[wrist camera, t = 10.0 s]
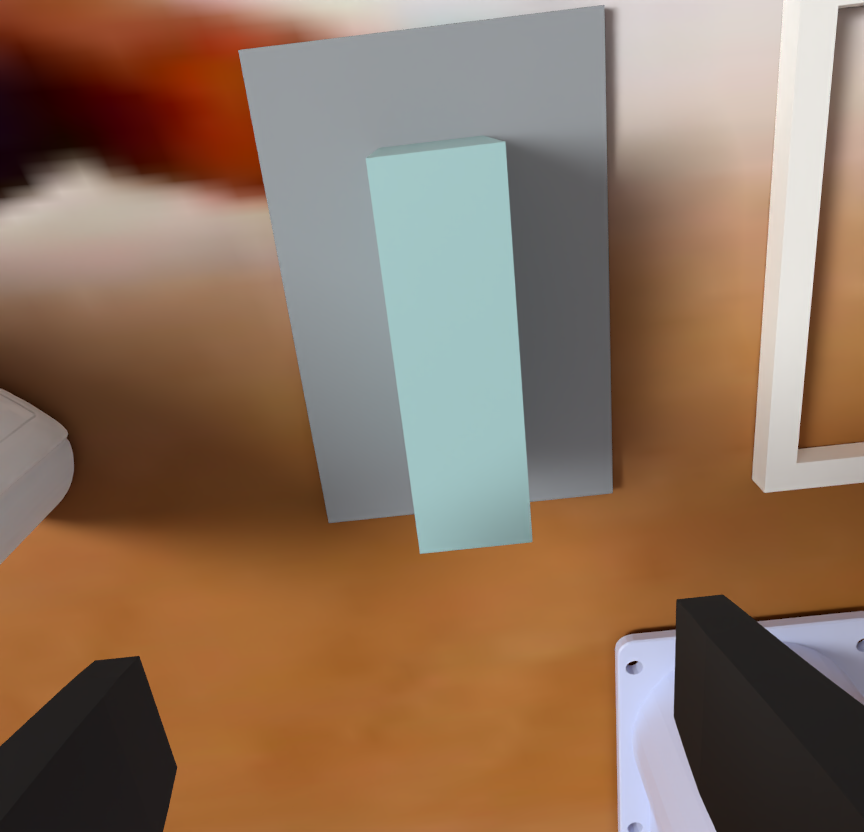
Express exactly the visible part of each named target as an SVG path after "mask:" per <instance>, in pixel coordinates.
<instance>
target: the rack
mask: <svg viewBox="0 0 864 832" xmlns="http://www.w3.org/2000/svg"><path fill="white" fill-rule="evenodd" d="M863 5H864V0H783V16H782V31H781V46H780V61H779V76H778V91H777V107H776V122H775V137H774V152H773V167H772V182H771V198H770V213H769V228H768V243H767V258H766V274H765V289H764V304H763V319H762V334H761V349H760V365H759V380H758V395H757V410H756V425H755V441H754V456H753V471H752V480H753V481H754V482H755V483H756V484H757V485H758V486H759V487H760V489H761V490H762V491H763V492H764V493H768V492H777V491H787V490H796V489H806V488H815V487H825V486H834V485H844V484H853V483H863V482H864V442H860V443H850V444H841V445H832V446H822V447H813V448H803V449H798V441H799V431H800V420H801V409H802V398H803V387H804V376H805V365H806V354H807V343H808V332H809V321H810V310H811V299H812V289H813V278H814V267H815V256H816V245H817V234H818V223H819V212H820V201H821V190H822V179H823V168H824V157H825V147H826V136H827V125H828V114H829V103H830V92H831V81H832V70H833V59H834V48H835V37H836V26H837V16H838V8H847V7H855V6H863Z"/></svg>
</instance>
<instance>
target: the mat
mask: <svg viewBox="0 0 864 832" xmlns="http://www.w3.org/2000/svg"><path fill="white" fill-rule="evenodd" d="M238 51H239V56H240V61H241V67H242V72H243V77H244V82H245V88H246V93H247V98H248V103H249V109H250V114H251V119H252V124H253V129H254V135H255V140H256V145H257V150H258V156H259V161H260V166H261V171H262V176H263V182H264V187H265V192H266V197H267V203H268V208H269V213H270V218H271V224H272V229H273V234H274V239H275V244H276V250H277V255H278V260H279V265H280V271H281V276H282V281H283V286H284V291H285V297H286V302H287V307H288V312H289V318H290V323H291V328H292V333H293V339H294V344H295V349H296V354H297V359H298V365H299V370H300V375H301V380H302V386H303V391H304V396H305V401H306V406H307V412H308V417H309V422H310V427H311V433H312V438H313V443H314V448H315V454H316V459H317V464H318V469H319V474H320V480H321V485H322V490H323V495H324V501H325V506H326V511H327V516H328V521H329V523H335V522H344V521H353V520H363V519H372V518H382V517H391V516H401V515H410V514H415V513H414V506H413V498H412V491H411V484H410V477H409V469H408V462H407V455H406V448H405V440H404V433H403V426H402V419H401V411H400V404H399V397H398V390H397V382H396V375H395V368H394V361H393V353H392V346H391V339H390V332H389V324H388V317H387V310H386V303H385V295H384V288H383V281H382V274H381V266H380V259H379V252H378V245H377V237H376V230H375V223H374V216H373V208H372V201H371V194H370V187H369V179H368V172H367V165H366V158H367V157H368V156H369V155H371V154H372V153H373V152H374V151H376V150H377V149H378V148H382V147H391V146H399V145H408V144H416V143H424V142H433V141H441V140H450V139H458V138H466V137H475V136H487V137H490V138H494V139H497V140H501V141H505V143H506V158H507V173H508V188H509V202H510V217H511V232H512V247H513V262H514V277H515V291H516V306H517V321H518V336H519V351H520V365H521V380H522V395H523V410H524V425H525V440H526V454H527V469H528V484H529V499H530V502H533V501H543V500H552V499H562V498H571V497H581V496H590V495H600V494H609V493H613V479H612V420H611V362H610V304H609V246H608V188H607V130H606V72H605V14H604V5H600V6H592V7H584V8H576V9H568V10H560V11H551V12H543V13H535V14H527V15H519V16H511V17H503V18H495V19H487V20H479V21H471V22H462V23H454V24H446V25H438V26H430V27H422V28H414V29H406V30H398V31H390V32H382V33H373V34H365V35H357V36H349V37H341V38H333V39H325V40H317V41H309V42H301V43H292V44H284V45H276V46H268V47H260V48H252V49H244V50H238Z"/></svg>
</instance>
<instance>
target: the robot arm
mask: <svg viewBox="0 0 864 832" xmlns="http://www.w3.org/2000/svg"><path fill="white" fill-rule="evenodd" d="M861 639H864V611H856V612H846V613H836V614H826V615H816V616H806V617H796V618H786V619H776V620H766V621H755V620H754V619H753V618H752V617H751V616H749V615H748V614H747V613H746V612H744V611H743V610H742V609H741V608H739V607H738V606H737V605H736V604H734V603H733V602H732V601H731V600H729V599H728V598H727V597H725V596H724V595H715V596H705V597H696V598H686V599H677V603H676V630H667V631H657V632H647V633H637V634H629V635H626V636H624V637H622V638H621V639H619V641H618V642H617V643H616V647H615V675H616V732H617V790H618V832H864V640H863V641H862V642H859V641H860V640H861ZM858 642H859V643H858ZM632 661H638V662H637V663H636V664H634V665H631V666H630V665H627V664H629V663H630V662H632ZM176 770H177V766H176V763H175V760H174V757H173V754H172V751H171V748H170V745H169V742H168V739H167V736H166V733H165V730H164V727H163V725H162V722H161V719H160V716H159V713H158V710H157V707H156V704H155V701H154V698H153V695H152V692H151V689H150V686H149V683H148V680H147V677H146V675H145V672H144V669H143V666H142V663H141V660H140V657H139V656H135V657H125V658H116V659H106V660H97V661H94V662H93V663H92V664H90V665H89V666H88V667H87V668H86V669H84V670H83V671H82V672H81V673H80V674H78V675H77V676H76V677H75V678H74V679H73V680H72V681H71V682H69V683H68V684H67V685H66V686H65V687H64V688H63V689H62V690H61V691H60V692H58V693H57V694H56V695H55V696H54V697H53V698H52V699H51V700H50V701H49V702H48V703H47V704H45V705H44V706H43V707H42V708H41V709H40V710H39V711H38V712H37V713H36V714H35V715H34V716H33V717H31V718H30V719H29V720H28V721H27V722H26V723H25V724H24V725H23V726H22V727H21V728H20V729H19V730H17V731H16V732H15V733H14V734H13V735H12V736H11V737H10V738H9V739H8V740H7V741H6V742H4V743H3V744H2V745H1V746H0V832H163V829H164V825H165V821H166V816H167V812H168V808H169V803H170V799H171V794H172V789H173V784H174V780H175V775H176Z"/></svg>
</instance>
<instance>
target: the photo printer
mask: <svg viewBox="0 0 864 832" xmlns="http://www.w3.org/2000/svg"><path fill="white" fill-rule="evenodd" d="M67 436H68V432H67V430H66V429H65V428H64V427H63V426H62V425H61V424H60V423H59V422H57V421H56V420H55V419H53V418H52V417H50V416H49V415H47V414H45V413H44V412H42V411H41V410H39V409H38V408H36V407H35V406H33V405H31V404H30V403H28V402H26V401H25V400H23V399H21V398H19V397H17V396H15V395H13V394H11V393H9V392H7V391H5V390H3V389H1V388H0V564H1V563H2V562H3V561H4V560H5V559H6V558H7V557H8V556H9V555H10V554H11V553H12V552H13V551H14V550H15V549H16V548H17V546H18V545H19V544H20V543H21V542H22V541H23V540H24V539H25V538H26V537H27V536H28V535H29V534H30V533H31V532H32V531H33V530H34V529H35V528H36V527H37V526H38V525H39V524H40V523H41V522H42V521H43V519H44V518H45V517H46V516H47V515H48V514H49V513H50V512H51V511H52V510H53V509H54V508H55V507H56V506H57V505H58V504H59V503H60V501H61V500H62V499H63V498H64V496H65V495H66V493H67V491H68V490H69V488H70V485H71V482H72V478H73V473H74V458H73V452H72V448H71V445H70V442H69V441H68V439H67Z"/></svg>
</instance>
